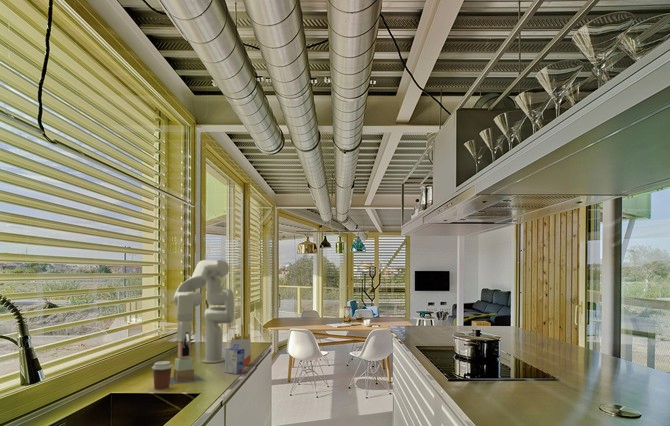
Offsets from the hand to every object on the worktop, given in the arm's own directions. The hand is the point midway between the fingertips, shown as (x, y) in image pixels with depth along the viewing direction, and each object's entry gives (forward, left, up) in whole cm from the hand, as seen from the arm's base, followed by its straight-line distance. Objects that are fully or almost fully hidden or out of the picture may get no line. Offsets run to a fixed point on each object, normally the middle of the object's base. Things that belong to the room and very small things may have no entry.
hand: (184, 354), depth 237 cm
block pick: (0, 0, -1) cm, 1 cm away
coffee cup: (+13, -13, -13) cm, 22 cm away
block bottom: (0, 0, -12) cm, 12 cm away
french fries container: (-18, +36, -13) cm, 42 cm away
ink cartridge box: (-2, +27, -13) cm, 30 cm away
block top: (0, 0, -7) cm, 7 cm away
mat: (0, 0, -12) cm, 12 cm away
